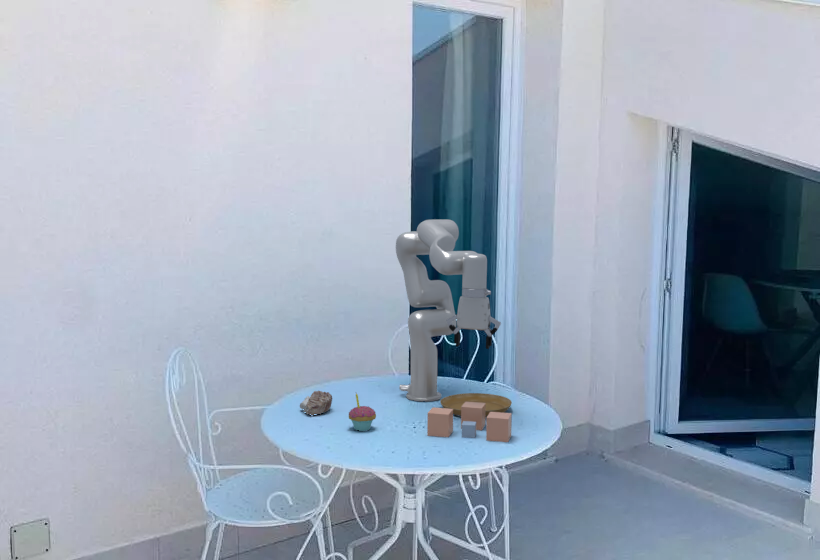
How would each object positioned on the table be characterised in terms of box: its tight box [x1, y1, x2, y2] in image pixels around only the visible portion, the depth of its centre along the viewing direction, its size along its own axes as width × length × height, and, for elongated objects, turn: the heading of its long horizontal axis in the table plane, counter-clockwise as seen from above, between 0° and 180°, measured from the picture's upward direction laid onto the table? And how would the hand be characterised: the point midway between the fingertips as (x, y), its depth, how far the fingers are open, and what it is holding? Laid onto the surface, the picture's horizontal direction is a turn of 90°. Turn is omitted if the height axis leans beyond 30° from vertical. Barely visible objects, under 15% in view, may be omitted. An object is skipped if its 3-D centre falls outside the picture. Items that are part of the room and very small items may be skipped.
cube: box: [461, 421, 477, 439], centre depth 239 cm, size 4×4×4 cm
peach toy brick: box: [426, 406, 454, 438], centre depth 241 cm, size 6×6×7 cm
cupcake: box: [348, 392, 377, 432], centre depth 245 cm, size 9×8×12 cm
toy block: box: [460, 402, 486, 431], centre depth 248 cm, size 6×6×7 cm
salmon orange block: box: [485, 412, 513, 443], centre depth 236 cm, size 6×6×7 cm
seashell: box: [299, 390, 333, 416], centre depth 266 cm, size 14×9×10 cm
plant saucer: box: [439, 392, 513, 419], centre depth 267 cm, size 24×24×3 cm
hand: (472, 346), depth 249 cm, fingers open, 9 cm apart
